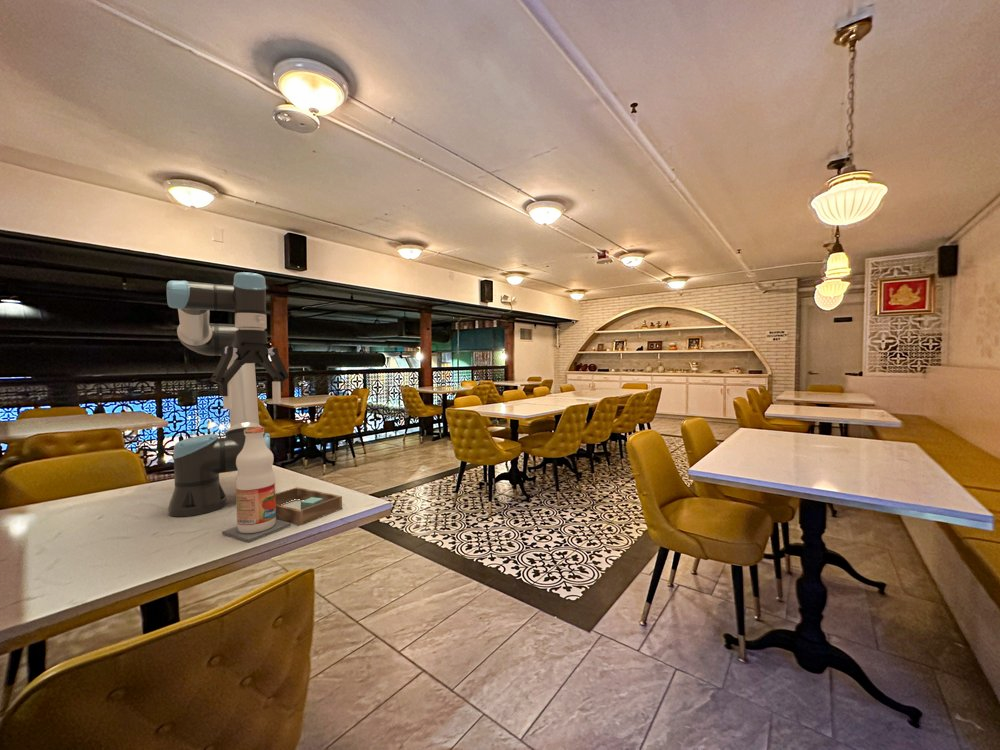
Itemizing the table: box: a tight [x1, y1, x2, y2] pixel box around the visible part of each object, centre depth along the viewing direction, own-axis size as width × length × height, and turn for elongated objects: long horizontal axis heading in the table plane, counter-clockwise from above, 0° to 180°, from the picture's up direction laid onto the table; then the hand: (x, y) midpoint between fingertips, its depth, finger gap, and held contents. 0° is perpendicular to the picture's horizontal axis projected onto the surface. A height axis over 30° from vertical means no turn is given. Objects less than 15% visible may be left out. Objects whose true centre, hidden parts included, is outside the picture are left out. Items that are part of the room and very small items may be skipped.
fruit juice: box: [235, 426, 276, 533], centre depth 113 cm, size 9×9×28 cm
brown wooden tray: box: [275, 486, 343, 526], centre depth 128 cm, size 22×15×4 cm
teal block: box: [300, 497, 323, 510], centre depth 125 cm, size 4×4×4 cm
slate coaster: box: [222, 519, 292, 543], centre depth 113 cm, size 12×12×1 cm
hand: (253, 406), depth 113 cm, fingers open, 13 cm apart
